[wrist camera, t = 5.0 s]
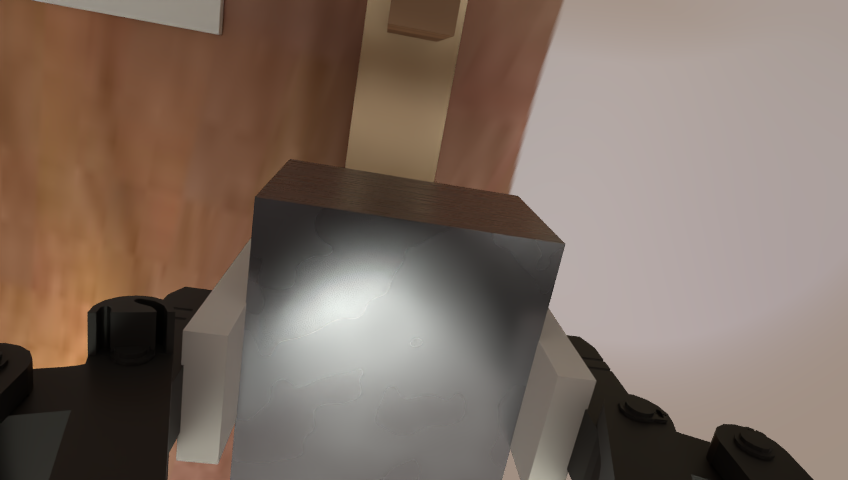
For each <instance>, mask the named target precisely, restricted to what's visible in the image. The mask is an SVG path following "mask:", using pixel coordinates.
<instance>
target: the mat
mask: <svg viewBox="0 0 848 480" xmlns="http://www.w3.org/2000/svg"><path fill="white" fill-rule="evenodd" d="M34 1H40V2H45V3H50V4H56V5H61V6H67V7H72V8H77V9H83V10H88V11H93V12H99V13H104V14H110V15H115V16H120V17H126V18H131V19H137V20H142V21H147V22H153V23H158V24H164V25H169V26H174V27H180V28H185V29H191V30H196V31H201V32H207V33H212V34H217V35H222V22H223V7H224V0H34Z"/></svg>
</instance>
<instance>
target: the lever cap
mask: <svg viewBox="0 0 848 480" xmlns="http://www.w3.org/2000/svg"><path fill="white" fill-rule="evenodd" d="M564 247H565V243H564V242H563V241H562V240H561V239H560V238H559V237H558V236H557V235H556V234H555V233H554V232H553V231H552V230H551V229H550V228H549V227H548V226H547V225H546V224H545V223H544V222H543V221H542V220H541V219H540V218H539V217H538V216H537V215H536V214H535V213H534V212H533V211H532V210H531V209H530V208H529V207H528V206H527V205H526V204H525V203H524V202H523V201H522V200H521V198H520V197H518V196H515V195H509V194H502V193H496V192H490V191H484V190H478V189H471V188H465V187H459V186H453V185H447V184H440V183H434V182H428V181H422V180H416V179H409V178H403V177H397V176H391V175H385V174H379V173H372V172H366V171H360V170H354V169H348V168H341V167H335V166H329V165H323V164H317V163H310V162H304V161H298V160H292V159H290V160H289V161H288V162H287V163H286V164H285V165H284V166H283V167H282V168H281V169H280V170H279V172H278V173H277V174H276V175H275V176H274V177H273V178H272V179H271V180H270V181H269V182H268V183H267V184H266V186H265V187H264V188H263V189H262V190H261V191H260V192H259V193H258V194H257V195H256V196H255V203H254V214H253V225H252V237H251V248H250V260H249V271H248V282H247V294H246V314H245V325H244V337H243V348H242V359H241V370H240V382H239V393H238V404H237V416H236V421H235V430H234V441H233V453H232V464H231V476H230V480H502V478H503V474H504V470H505V466H506V463H507V459H508V455H509V452H510V446H511V442H512V438H513V434H514V431H515V427H516V423H517V419H518V416H519V412H520V408H521V405H522V401H523V397H524V393H525V390H526V386H527V382H528V379H529V375H530V371H531V367H532V364H533V360H534V356H535V352H536V349H537V345H538V341H539V340H540V336H541V333H542V329H543V325H544V321H545V318H546V314H547V310H548V306H549V302H550V299H551V295H552V292H553V288H554V284H555V280H556V276H557V273H558V269H559V266H560V262H561V258H562V254H563V251H564Z"/></svg>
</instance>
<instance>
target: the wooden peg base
mask: <svg viewBox="0 0 848 480" xmlns="http://www.w3.org/2000/svg"><path fill="white" fill-rule="evenodd" d="M467 2H468V0H368V2H367V10H366V17H365V24H364V32H363V39H362V46H361V54H360V61H359V69H358V76H357V83H356V91H355V98H354V105H353V113H352V120H351V127H350V135H349V142H348V150H347V157H346V164H345V168H348V169H354V170H360V171H366V172H372V173H379V174H385V175H391V176H397V177H403V178H409V179H416V180H422V181H428V182H434V179H435V174H436V168H437V163H438V158H439V152H440V147H441V142H442V136H443V131H444V125H445V120H446V115H447V109H448V104H449V99H450V93H451V88H452V83H453V77H454V72H455V66H456V61H457V56H458V50H459V45H460V40H461V34H462V29H463V24H464V18H465V13H466V7H467Z"/></svg>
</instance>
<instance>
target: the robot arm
mask: <svg viewBox="0 0 848 480" xmlns="http://www.w3.org/2000/svg"><path fill="white" fill-rule="evenodd" d="M250 248H251V239H250V240H249V241H248V243H247V244H246V245H245V247H244V248H243V249H242V251H241V252H240V254H239V255H238V256H237V258H236V259H235V260H234V262H233V263H232V264H231V266H230V267H229V268H228V270H227V271H226V273H225V274H224V275H223V277H222V278H221V279H220V281H219V282H218V283H217V285H216V286H215V288H214V289H213V290H206V289H198V288H191V287H184V288H182V289H179V290H177V291H175V292H173V293H170V294H168V295H167V296H166V297H165V298H164V299H163V300H162V299H158V298H154V297H148V296H123V297H117V298H112V299H108V300H104V301H102V302H100V303H98V304H96V305H94V306H93V307H92V308H91V309H90V310H89V312H88V358H87V361H86V364H83V365H78V366H69V367H57V368H41V369H33V363H32V356H31V354H30V351H28V350H26V349H25V348H23V347H21V346H18V345H13V344H7V343H0V480H167V479H168V459H169V452H170V450H171V448H172V446H173V444H174V443H175V441H176V439H177V455H176V460H177V461H188V462H199V463H209V464H218V463H219V460H220V458H221V455H222V453H223V450H224V448H225V446H226V443H227V441H228V438H229V436H230V433H231V431H232V428H233V426H234V423H235V421H236V416H237V404H238V393H239V382H240V370H241V359H242V348H243V337H244V325H245V314H246V294H247V282H248V271H249V260H250ZM510 449H511V452H512V455H513V458H514V461H515V465H516V467H517V471H518V474H519V477H520V479H521V480H566V477H567V474H568V473H569V475H570V477H571V479H572V480H813V479H812V478H811V477H810V476H809V475H808V473H807V472H806V471H805V470H804V469H803V468H802V467H801V466H800V465H799V464H798V463H797V462H796V461H795V460H794V459H793V458H792V456H791V455H790V454H789V453H788V452H787V451H786V450H784V449H783V448H782V447H781V446H780V445H779V444H777V443H776V442H775V441H773V440H771V439H770V438H768V437H766V435H765V434H763V433H761V432H759V431H757V430H756V431H754V429H751V428H749V427H742V426H738V425H732V424H723V425H721V426H719V427H717V428H716V431H715V433H714V436H713V438H712V441H711V443H710V442H707V441H704V440H701V439H698V438H694V437H691V436H688V435H684V434H681V433H679V432H676V430H675V427H674V424H673V422H672V420H671V419H670V417H669V416H668V414H667V413H666V412H664V411H663V410H662V409H661V408H660V407H658V406H657V405H655V404H653V403H651V402H650V401H648V400H645V399H643V398H640V397H637V396H635V395H631V394H628V393H627V391H626V390H625V389H624V387H623V386H622V385H621V383H620V382H619V380H618V379H617V378H616V376H615V375H614V374H613V372H612V371H610V368H609V367H608V365H607V364H606V363H605V362H603V359H602V357H601V356H600V355H599V353H598V352H597V350H596V349H595V348H594V347H593V346H591V345H590V344H589V343H587V342H586V341H584V340H583V339H582V338H580V337H577V336H568V335H566V334H565V332H564V331H563V330H562V328H561V326H560V325H559V323H558V322H557V320H556V319H555V317H554V316H553V314H552V313H551V311H550V310H549V308H548V310H547V314H546V318H545V321H544V325H543V329H542V333H541V336H540V340H539V341H538V345H537V349H536V352H535V356H534V360H533V364H532V367H531V371H530V375H529V379H528V382H527V386H526V390H525V393H524V397H523V401H522V405H521V408H520V412H519V416H518V419H517V423H516V427H515V431H514V434H513V438H512V442H511V446H510Z"/></svg>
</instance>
